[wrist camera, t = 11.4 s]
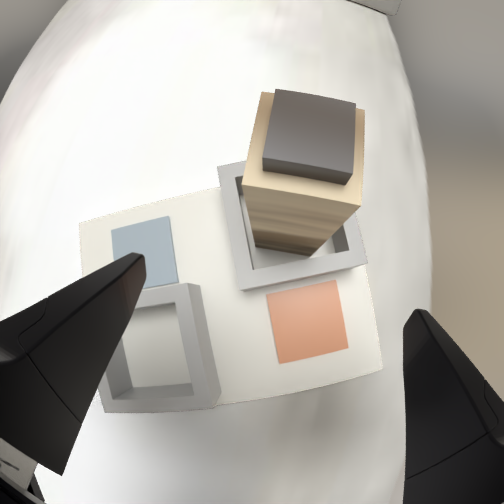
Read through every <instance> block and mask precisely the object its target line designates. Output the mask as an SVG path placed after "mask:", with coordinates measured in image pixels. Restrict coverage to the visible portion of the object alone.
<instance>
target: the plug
mask: <svg viewBox="0 0 504 504" xmlns="http://www.w3.org/2000/svg"><path fill="white" fill-rule="evenodd" d="M364 126H365V110H362V109H358V108H356V103H351V102H347V101H343V100H338V99H333V98H328V97H323V96H318V95H312V94H307V93H300V92H294V91H287V90H280V89H275V93H268V92H262V93H261V97H260V101H259V106H258V110H257V115H256V119H255V124H254V128H253V133H252V137H251V142H250V147H249V151H248V156H247V161H246V165H245V170H244V175H243V180H242V189H243V194H244V198H245V203H246V207H247V212H248V216H249V221H250V225H251V230H252V234H253V239H254V243H255V247H257V248H263V249H269V250H275V251H281V252H287V253H292V254H298V255H304V256H310V257H311V256H312V255H313V254H314V253H315V252H316V251H317V250H318V249H319V248H320V247H321V246H322V245H323V244H324V243H325V242H326V241H327V240H328V239H329V238H330V237H331V236H332V235H333V234H334V233H335V232H336V231H337V230H338V229H339V228H340V227H341V226H342V225H343V224H344V223H345V222H346V221H347V220H348V219H349V218H350V217H351V216H352V214H353V213H354V212H355V211H356V210H357V209H358V208H359V207H360V206H361V200H362V185H363V165H364Z"/></svg>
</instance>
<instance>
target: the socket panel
mask: <svg viewBox="0 0 504 504" xmlns="http://www.w3.org/2000/svg"><path fill="white" fill-rule="evenodd" d="M245 165H246V161H242V162H237V163H232V164H227V165H223V166H218V167H217V169H218V175H219V181H220V187H217V188H213V189H208V190H203V191H199V192H195V193H190V194H186V195H182V196H178V197H173V198H169V199H165V200H161V201H157V202H153V203H150V204H146V205H142V206H138V207H134V208H131V209H127V210H123V211H120V212H116V213H113V214H109V215H106V216H102V217H99V218H95V219H92V220H89V221H85V222H82V223H79V236H80V253H81V266H82V277H85V276H87V275H88V274H90V273H92V272H94V271H96V270H98V269H100V268H102V267H104V266H106V265H108V264H109V263H111V262H113V261H115V260H117V259H119V258H121V257H123V256H125V255H127V254H129V253H131V252H136V253H140V254H143V255H144V257H145V263H146V273H147V277H146V281H145V284H144V286H143V289H142V291H141V294H140V296H139V299H138V301H137V304H136V307H135V309H134V312H133V314H132V317H131V319H130V321H129V323H128V326H127V327H126V329H125V331H124V333H123V335H122V337H121V339H120V341H119V344H118V346H117V348H116V350H115V352H114V354H113V356H112V358H111V360H110V362H109V364H108V366H107V368H106V371H105V373H104V375H103V377H102V379H101V381H100V384H99V386H98V390H99V394H100V398H101V401H102V405H103V408H104V412H105V413H155V412H175V411H190V410H201V409H211V408H214V406H215V405H223V404H231V403H238V402H245V401H252V400H258V399H264V398H270V397H275V396H281V395H286V394H291V393H296V392H300V391H305V390H310V389H314V388H318V387H322V386H326V385H330V384H334V383H338V382H342V381H346V380H349V379H353V378H356V377H360V376H363V375H367V374H370V373H373V372H376V371H380V370H383V367H382V359H381V352H380V345H379V338H378V332H377V326H376V320H375V314H374V308H373V303H372V298H371V292H370V287H369V283H368V278H367V273H366V268H365V264H367V263H368V261H367V256H366V252H365V248H364V244H363V240H362V236H361V232H360V228H359V224H358V220H357V216H356V213H355V212H354V213H353V214H352V216H351V217H350V218H349V219H348V220H347V221H346V222H345V223H344V224H343V225H342V226H341V227H340V228H339V229H338V230H337V231H336V232H335V233H334V234H333V235H332V236H331V237H330V238H329V239H328V240H327V241H326V242H325V243H324V244H323V245H322V246H321V247H320V248H319V249H318V250H317V251H316V252H315V253H314V254H313V255H312V256H311V257H310V256H304V255H298V254H292V253H287V252H281V251H275V250H269V249H263V248H257V247H255V243H254V239H253V234H252V230H251V225H250V221H249V216H248V212H247V207H246V203H245V198H244V194H243V189H242V180H243V175H244V170H245Z"/></svg>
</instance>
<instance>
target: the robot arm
mask: <svg viewBox="0 0 504 504" xmlns="http://www.w3.org/2000/svg"><path fill="white" fill-rule="evenodd" d="M146 277H147V273H146V263H145V257H144V255H143V254H140V253H136V252H131V253H129V254H127V255H125V256H123V257H121V258H119V259H117V260H115V261H113V262H111V263H109V264H108V265H106V266H104V267H102V268H100V269H98V270H96V271H94V272H92V273H90V274H88V275H87V276H85V277H83V278H81V279H79V280H77V281H75V282H74V283H72V284H70V285H68V286H66V287H64V288H63V289H61V290H59V291H57V292H55V293H54V294H52V295H50V296H48V298H45V299H43V300H41V301H39V302H38V303H36V304H34V305H32V306H30V307H28V308H27V309H25V310H23V311H21V312H19V313H17V314H15V315H13V316H11V317H8V318H6V319H4V320H2V321H0V504H46V503H44V501H45V500H44V497H43V495H42V493H41V490H40V488H39V485H38V482H37V480H36V477H35V474H34V471H35V469H36V466H37V464H38V463H39V464H41V465H43V466H44V467H46V468H48V469H50V470H52V471H53V472H55V473H57V474H59V475H61V476H62V475H63V472H64V470H65V467H66V464H67V462H68V459H69V456H70V454H71V451H72V448H73V446H74V443H75V441H76V438H77V436H78V433H79V431H80V428H81V426H82V423H83V420H84V418H85V416H86V413H87V411H88V409H89V406H90V404H91V402H92V399H93V397H94V395H95V393H96V390H97V388H98V386H99V384H100V381H101V379H102V377H103V375H104V373H105V371H106V368H107V366H108V364H109V362H110V360H111V358H112V356H113V354H114V352H115V350H116V348H117V346H118V344H119V341H120V339H121V337H122V335H123V333H124V331H125V329H126V327H127V326H128V323H129V321H130V319H131V317H132V314H133V312H134V309H135V307H136V304H137V301H138V299H139V296H140V294H141V291H142V289H143V286H144V284H145V281H146ZM403 376H404V391H405V413H406V462H405V481H404V495H403V504H504V402H503V401H502V399H501V398H500V397H499V396H498V395H497V393H496V392H495V391H494V390H493V388H492V387H491V386H490V384H489V383H488V382H487V381H486V380H484V377H483V376H482V374H481V373H480V372H479V371H478V369H477V368H476V367H475V366H474V364H473V363H472V362H471V361H470V360H469V358H468V357H467V356H466V355H465V353H464V352H463V351H462V350H461V349H460V348H459V346H458V345H457V344H456V343H455V342H454V341H453V339H452V338H451V337H450V336H449V335H448V334H447V332H446V331H445V330H444V329H443V328H442V327H441V326H440V325H439V324H438V322H437V321H436V320H435V319H434V318H433V317H432V316H431V315H430V313H429V312H428V311H426V310H423V309H415V310H414V311H413V313H412V314H411V316H410V317H409V319H408V320H407V322H406V323H405V325H404V328H403Z"/></svg>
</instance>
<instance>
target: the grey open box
mask: <svg viewBox="0 0 504 504" xmlns="http://www.w3.org/2000/svg"><path fill="white" fill-rule="evenodd" d="M351 1H354V2H357V3H360V4H362V5H365V6H368V7H370V8H373V9H376V10H378V11H381V12H383V13H386V14H388V15H391V16H393V15H396V13H397V11H398V8H399V6H400V3H401V0H351Z"/></svg>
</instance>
